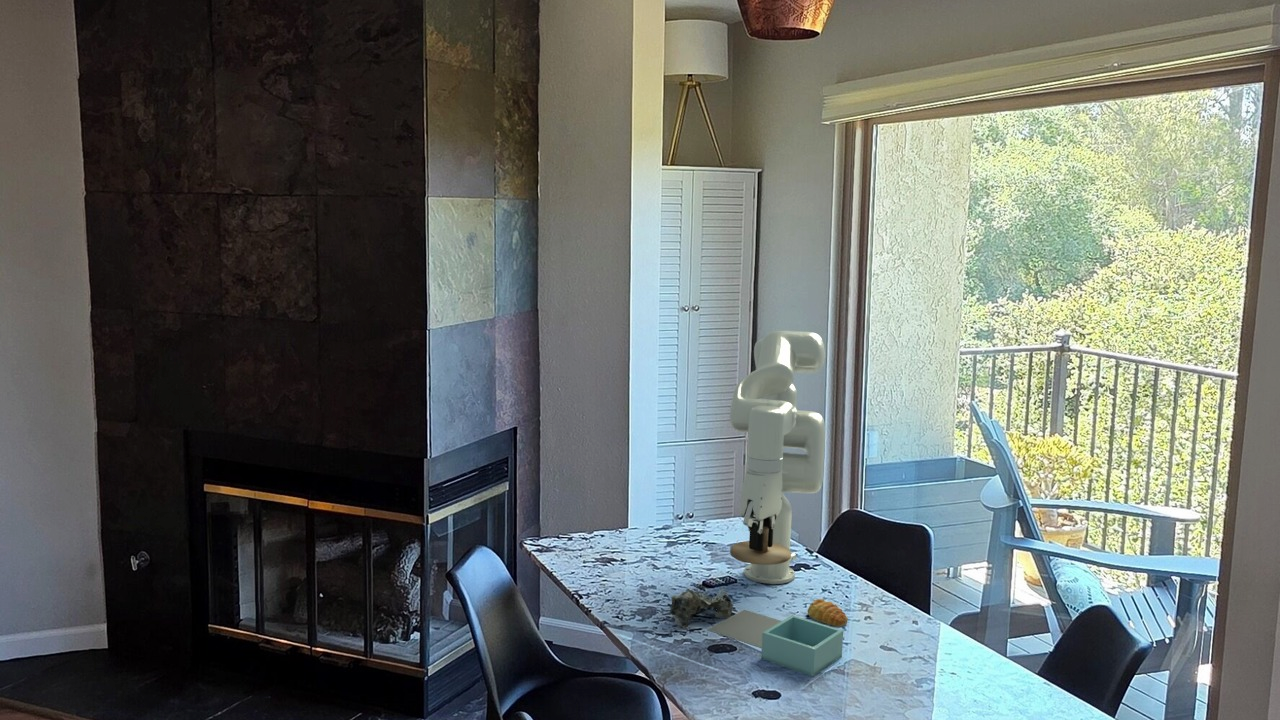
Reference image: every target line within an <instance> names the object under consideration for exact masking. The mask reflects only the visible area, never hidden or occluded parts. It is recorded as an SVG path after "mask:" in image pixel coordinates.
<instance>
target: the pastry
mask: <svg viewBox="0 0 1280 720" xmlns="http://www.w3.org/2000/svg"><path fill="white" fill-rule="evenodd" d="M807 614H808V616H809V617H810V618H811V620H815V621H816V622H818V623H821V624H824V625H827V626H831V627H838V628H842V627H844V626H846V625H847V623H848V621H849V618H848V617H847V614H846V613H845V612H844V611H843V609H841V608H840V607H838V605H837V604H834V603H833V602H831V601H825V599H821V598H819V599H815V600H814V601H813V602H811V603H810V605H809V607H808V608H807Z"/></svg>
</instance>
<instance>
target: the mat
mask: <svg viewBox="0 0 1280 720" xmlns="http://www.w3.org/2000/svg"><path fill="white" fill-rule="evenodd" d="M781 621H782V620H781V619H780V620H779V619H776V618H774V617H770V616H766V615H763V614H760V613H758V612H754V611H751V610H747V609H743V610H740V611H739V612H737V613H735V614H733V615H731V616H730V617H729V618H725V619H724V620H722V621H720V622H718V623H717V624H715V625H713V626H711V627H709V628H707V629H706V630H707V631H709V632H712V633H715V634H718V635H721V636H724V637H727V638H730V639H733V640H736V641H738V642H741V643H744V644H748V645H751V646H754V647H757V648H760V649H762V633H763V632H764V631H766V630H768V629H769V628H771V627H773V626H774V625H776V624H778V623H780V622H781Z"/></svg>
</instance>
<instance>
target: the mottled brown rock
mask: <svg viewBox="0 0 1280 720" xmlns="http://www.w3.org/2000/svg"><path fill="white" fill-rule="evenodd" d="M713 597H714V598H713ZM712 598H713V599H712ZM670 599H671V603H670V604H671V606H670V610H669V612H668V615H669V616H670V615H672V616H673V619H674V620H675V621H673V622H674V623H673V625H674V626H676V625H677V626H680V627H681V629H682V630H683V629H687V628H688V627H687V626H688V625H689V623H690V621H691V619H692V618H693V616H694V614H701V612H702V609H705V610H706V611H708V609H712V611H714V612H715V615H714V617H715V618H718V619H719V618H720V619H728V618H729V617H731V616H732V612H733V607H734V604H733V601H732V598H731V597H730V596H729V594H728V593H727V592H726V590H725V589H724V587H721V589H720V590H719V591H717V594H716V596H715V595H714V594H713V595H711V596H709V595H707V594H705V593H703V592H701V594H700V592H699V589H698V588H697V587H696V589H695V591H694V590H692V589H690V588H687V589H686V591H682V592H681V594H674V595H670Z"/></svg>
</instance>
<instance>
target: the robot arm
mask: <svg viewBox="0 0 1280 720" xmlns="http://www.w3.org/2000/svg"><path fill="white" fill-rule="evenodd" d="M753 356H754V357H753V358H754V364H755V367H756V368H755V369H756V370H753V371H751V372H750V373H749V374H747V375H745V376H744V377H743V378H742V379H741V380H739V382H738V383H737V384H736V386H735V387H734V390H733V393H732V399H731V403H730V410H729V422H730V425H731V428H732V429H734V430H735V431H737V432H740V433H747V447H746V448H747V449H746V450H747V452H746V453H747V454H746V471H745V473H744V479H743V482H742V489H741V490H742V491H741V496H740V497H741V498H740V508H739V509H740V510H739V513H740V516H741V517H742V518H744V519H743V521H742V523H743V525H744V526H745V527H746V526H747V529H748V532H749V538H748V539H749V540H748V541H749V548H750V549H752V550H756V551H760V552H761V551H763V541H764V533H762V528H763V526H765V527H768V528H769V532H768V547H772V544H773V543H777V544H780V545H783V546H785V547H787V548H788V549H789V550H790V551H791V534H792V533H791V532H792V515H793V513H792V512H793V511H792V505H791V503H790V501H789V499H788V498H787V497H786V496H785V494H784V493H796V494H799V493H800V494H815V493H818V492H820V490H821V488H822V486H823V481H824V469H825V468H824V467H825V450H826V449H825V446H826V424H825V420H824V417H823V416H822V414H821V413H818V412H816V411H811V410H798V409H797V398H798V391H797V389H796V387H795V384H794V383H793V382H794V380H795V373H800V374H802V373H804V374H818V373H821V371H822V369H823V368H824V365H825V361H826V349H825V344H824V341H823V339H822V337H821V335H819V334H818V333H816V332H814V331H813V332H812V331H799V330H798V331H796V330H774V331H771V332H769V333H767V334H766V335H764V337H763V338H760V339H758V340H757V341H756V342H755V344H754V349H753ZM785 448H786V449H796V450H797V449H798V450H802V451H804V452H805V453H806V454H805V453H804V454H803V453H794V452H793V453H792V452H791V453H790V452H784V449H785ZM796 555H797V554H795V552H791V558H790V559H789V560H788V561H786V562H784V563H780V564H773V565H759V564H751V563H750V564H748V565H746V567H744V571H743V573H744V576H745V577H746V578H747V579H749V580H751V581H753V582H756V583H762V584H766V585H767V584H768V585H779V584H781V585H782V584H787V583H790V582H792V581H794V579H795V578H796V577H795V575H796V572H795V571H794V569H793V568H791V567H790V563H791V562H793V561H795V560H796V559H797V556H796Z"/></svg>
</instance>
